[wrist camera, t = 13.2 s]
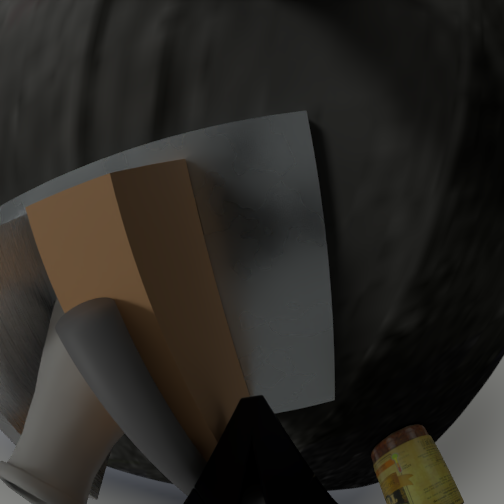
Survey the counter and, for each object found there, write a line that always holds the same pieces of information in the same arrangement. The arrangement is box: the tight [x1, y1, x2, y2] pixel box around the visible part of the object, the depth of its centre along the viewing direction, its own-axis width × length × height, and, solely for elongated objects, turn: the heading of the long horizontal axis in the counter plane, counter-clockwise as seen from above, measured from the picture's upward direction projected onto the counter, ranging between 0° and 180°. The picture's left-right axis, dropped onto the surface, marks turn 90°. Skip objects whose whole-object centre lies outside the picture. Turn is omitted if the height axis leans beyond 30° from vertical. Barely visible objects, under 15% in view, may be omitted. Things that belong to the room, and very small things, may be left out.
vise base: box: [0, 111, 335, 499], centre depth 10 cm, size 17×16×8 cm
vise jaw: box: [25, 159, 250, 496], centre depth 9 cm, size 2×14×8 cm, turn 11°
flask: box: [0, 297, 124, 504], centre depth 8 cm, size 7×7×10 cm
